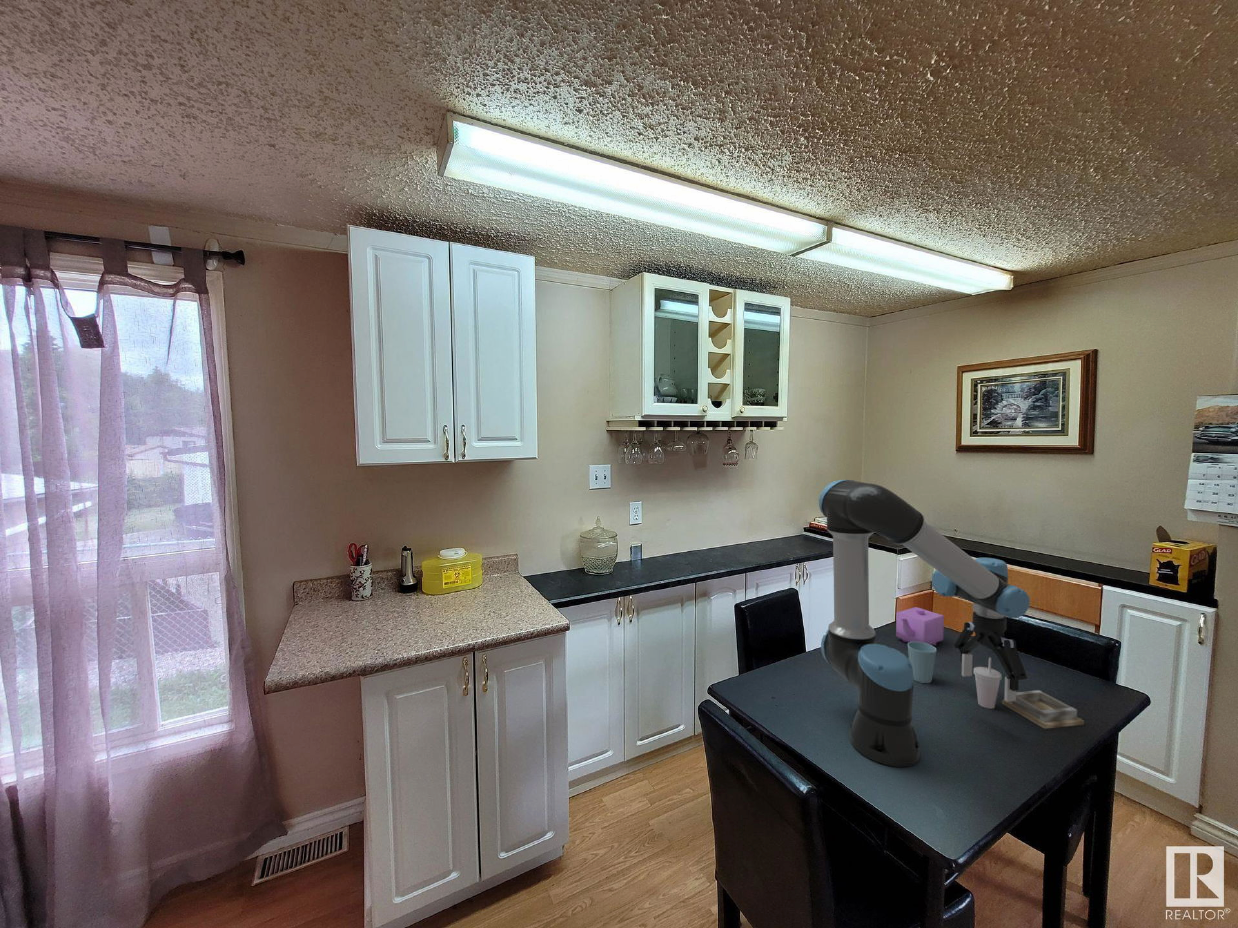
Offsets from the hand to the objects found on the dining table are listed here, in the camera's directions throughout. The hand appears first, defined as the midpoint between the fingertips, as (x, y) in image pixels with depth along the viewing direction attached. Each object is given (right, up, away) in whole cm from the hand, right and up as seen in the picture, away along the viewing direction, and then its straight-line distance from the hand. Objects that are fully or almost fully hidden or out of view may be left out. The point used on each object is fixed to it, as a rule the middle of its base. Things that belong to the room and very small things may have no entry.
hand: (987, 687), depth 136 cm
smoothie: (0, -5, 0) cm, 5 cm away
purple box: (+5, -3, +41) cm, 41 cm away
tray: (+12, -5, -4) cm, 13 cm away
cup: (-9, -5, +15) cm, 18 cm away
